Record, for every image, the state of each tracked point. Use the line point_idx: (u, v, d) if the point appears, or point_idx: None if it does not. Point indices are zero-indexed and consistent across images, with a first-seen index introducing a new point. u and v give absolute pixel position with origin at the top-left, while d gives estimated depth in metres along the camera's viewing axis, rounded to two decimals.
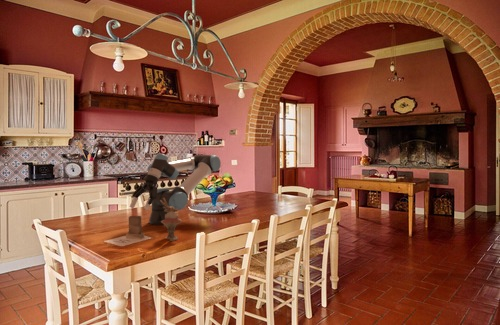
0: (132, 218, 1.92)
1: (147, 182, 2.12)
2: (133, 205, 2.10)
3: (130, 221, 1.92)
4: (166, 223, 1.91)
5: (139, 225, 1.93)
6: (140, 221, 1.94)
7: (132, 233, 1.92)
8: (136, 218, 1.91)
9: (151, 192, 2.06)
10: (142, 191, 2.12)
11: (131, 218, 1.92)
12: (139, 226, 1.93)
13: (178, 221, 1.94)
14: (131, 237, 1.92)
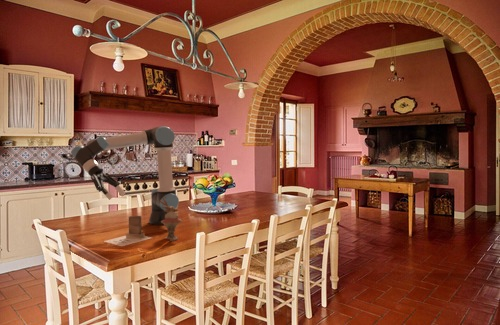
0: (132, 218, 1.92)
1: None
2: (122, 192, 2.01)
3: (130, 221, 1.92)
4: (166, 223, 1.91)
5: (139, 225, 1.93)
6: (140, 221, 1.94)
7: (132, 233, 1.92)
8: (136, 218, 1.91)
9: None
10: (108, 181, 1.99)
11: (131, 218, 1.92)
12: (139, 226, 1.93)
13: (178, 221, 1.94)
14: (131, 237, 1.92)
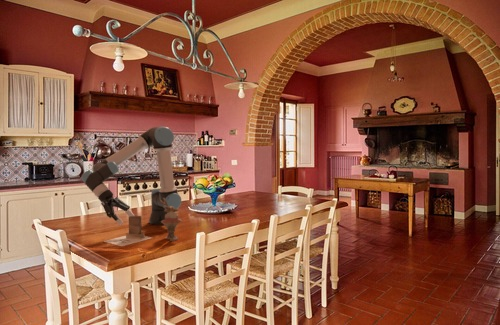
0: (132, 218, 1.92)
1: None
2: None
3: (130, 221, 1.92)
4: (166, 223, 1.91)
5: (139, 225, 1.93)
6: (140, 221, 1.94)
7: (132, 233, 1.92)
8: (136, 218, 1.91)
9: (109, 209, 1.89)
10: (119, 205, 1.98)
11: (131, 218, 1.92)
12: (139, 226, 1.93)
13: (178, 221, 1.94)
14: (131, 237, 1.92)
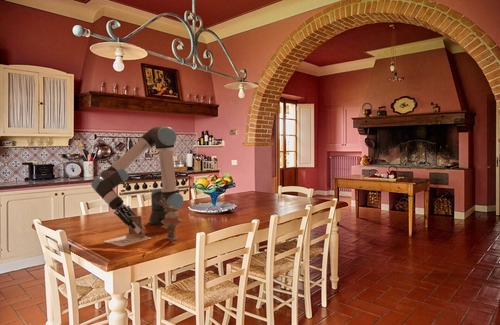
0: (132, 218, 1.92)
1: None
2: (142, 227, 1.95)
3: None
4: (166, 223, 1.91)
5: (139, 225, 1.93)
6: (140, 221, 1.94)
7: (132, 233, 1.92)
8: (136, 218, 1.91)
9: None
10: (128, 214, 1.96)
11: (131, 218, 1.92)
12: (139, 226, 1.93)
13: (178, 221, 1.94)
14: (131, 237, 1.92)
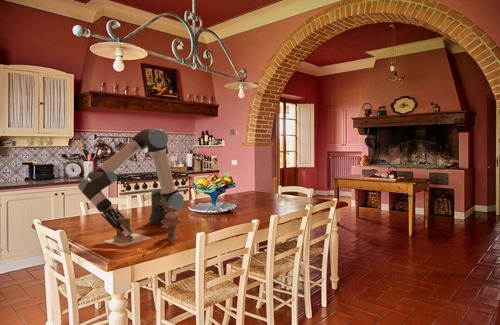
0: (120, 220, 1.85)
1: None
2: (131, 230, 1.89)
3: None
4: (166, 223, 1.91)
5: (128, 227, 1.87)
6: (128, 223, 1.88)
7: (120, 236, 1.86)
8: (124, 220, 1.85)
9: None
10: (116, 216, 1.90)
11: (119, 220, 1.86)
12: (127, 229, 1.87)
13: (178, 221, 1.94)
14: (119, 240, 1.86)
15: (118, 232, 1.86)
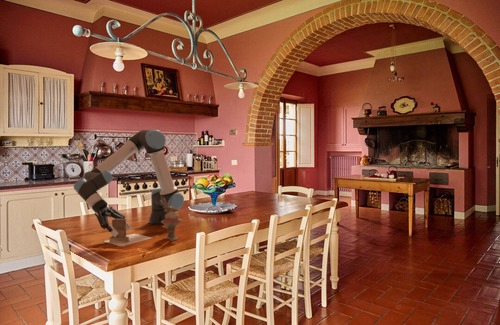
0: (116, 221, 1.83)
1: None
2: (128, 226, 1.92)
3: (114, 224, 1.84)
4: (166, 223, 1.91)
5: (123, 228, 1.85)
6: (124, 224, 1.86)
7: (116, 237, 1.84)
8: (120, 221, 1.83)
9: (103, 220, 1.81)
10: (113, 215, 1.90)
11: (115, 221, 1.84)
12: (123, 230, 1.85)
13: (178, 221, 1.94)
14: (115, 241, 1.84)
15: None
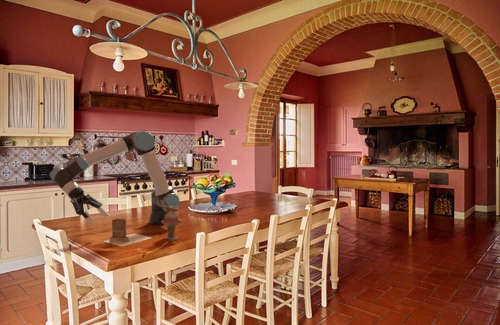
0: (116, 221, 1.83)
1: None
2: (105, 213, 1.94)
3: (114, 224, 1.84)
4: (166, 223, 1.91)
5: (123, 228, 1.85)
6: (124, 224, 1.86)
7: (116, 237, 1.84)
8: (120, 221, 1.83)
9: (79, 207, 1.83)
10: (90, 203, 1.92)
11: (115, 221, 1.84)
12: (123, 230, 1.85)
13: (178, 221, 1.94)
14: (115, 241, 1.84)
15: (114, 233, 1.84)
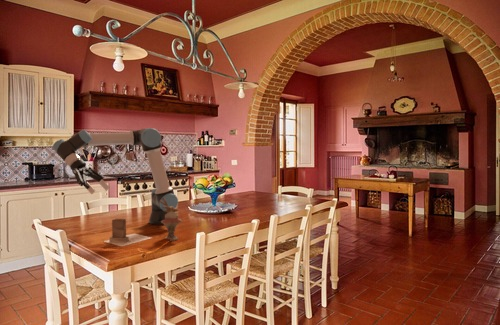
0: (116, 221, 1.83)
1: None
2: (106, 186, 1.97)
3: (114, 224, 1.84)
4: (166, 223, 1.91)
5: (123, 228, 1.85)
6: (124, 224, 1.86)
7: (116, 237, 1.84)
8: (120, 221, 1.83)
9: None
10: (92, 175, 1.95)
11: (115, 221, 1.84)
12: (123, 230, 1.85)
13: (178, 221, 1.94)
14: (115, 241, 1.84)
15: (114, 233, 1.84)
